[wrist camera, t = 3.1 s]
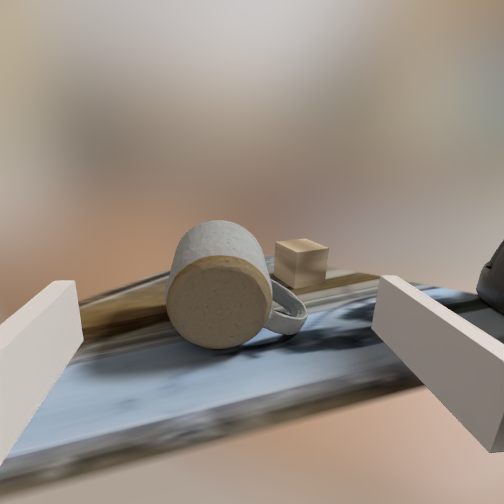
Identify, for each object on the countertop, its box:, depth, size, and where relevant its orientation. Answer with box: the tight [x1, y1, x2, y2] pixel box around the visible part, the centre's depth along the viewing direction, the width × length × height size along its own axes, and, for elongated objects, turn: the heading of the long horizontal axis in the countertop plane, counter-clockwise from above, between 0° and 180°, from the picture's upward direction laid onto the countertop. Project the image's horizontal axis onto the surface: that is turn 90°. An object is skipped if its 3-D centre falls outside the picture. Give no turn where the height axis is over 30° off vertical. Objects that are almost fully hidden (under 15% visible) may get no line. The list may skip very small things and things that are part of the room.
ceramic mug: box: [166, 220, 308, 349], centre depth 23 cm, size 11×8×8 cm
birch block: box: [274, 239, 329, 289], centre depth 33 cm, size 4×4×4 cm
